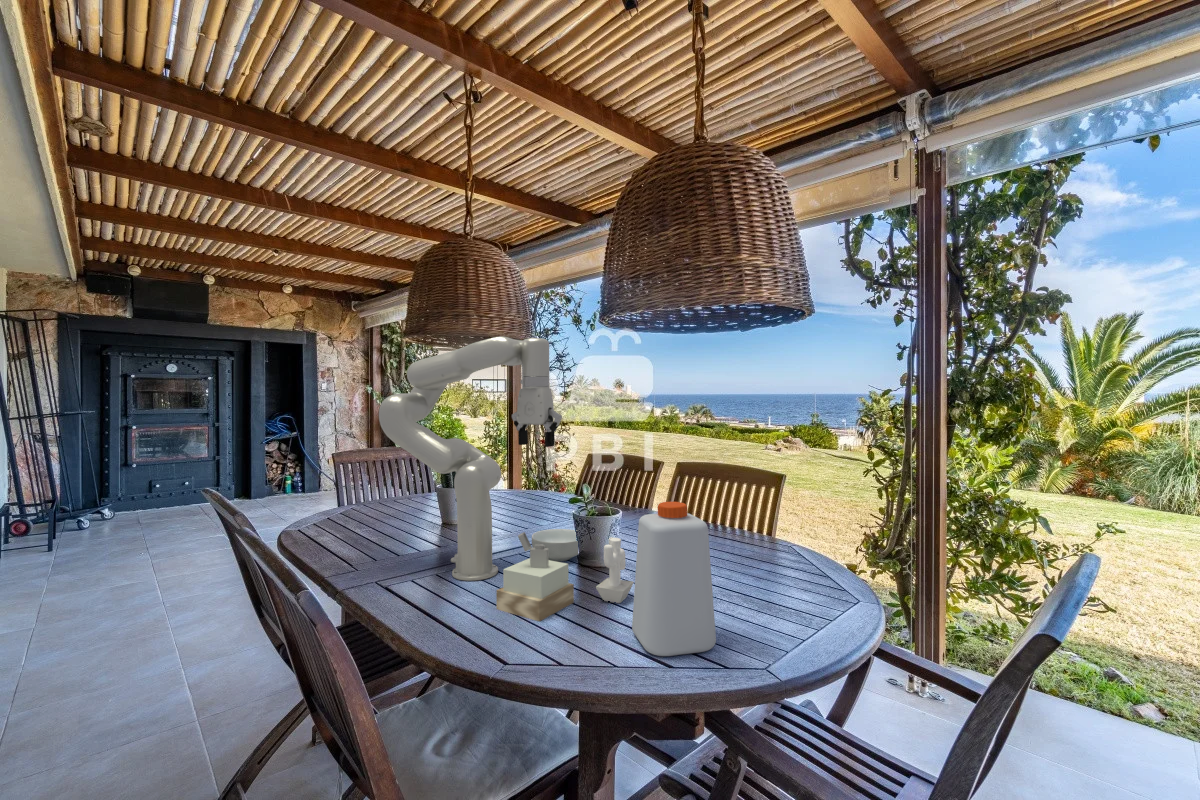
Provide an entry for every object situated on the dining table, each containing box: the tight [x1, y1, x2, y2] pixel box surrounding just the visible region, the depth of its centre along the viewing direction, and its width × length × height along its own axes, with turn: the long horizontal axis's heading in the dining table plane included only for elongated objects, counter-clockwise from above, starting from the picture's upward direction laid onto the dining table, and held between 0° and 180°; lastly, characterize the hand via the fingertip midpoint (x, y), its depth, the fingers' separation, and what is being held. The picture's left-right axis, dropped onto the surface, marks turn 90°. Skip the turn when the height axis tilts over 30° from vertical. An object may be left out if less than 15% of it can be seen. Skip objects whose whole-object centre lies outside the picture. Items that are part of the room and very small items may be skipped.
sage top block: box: [502, 557, 570, 599], centre depth 132 cm, size 11×11×5 cm
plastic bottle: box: [631, 501, 717, 657], centre depth 114 cm, size 15×15×28 cm
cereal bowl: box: [531, 528, 579, 562], centre depth 170 cm, size 17×17×7 cm
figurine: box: [595, 536, 635, 604], centre depth 136 cm, size 7×9×15 cm
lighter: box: [517, 531, 549, 568], centre depth 132 cm, size 7×2×8 cm, turn 81°
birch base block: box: [495, 582, 575, 622], centre depth 132 cm, size 13×13×5 cm
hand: (536, 445), depth 153 cm, fingers open, 9 cm apart
